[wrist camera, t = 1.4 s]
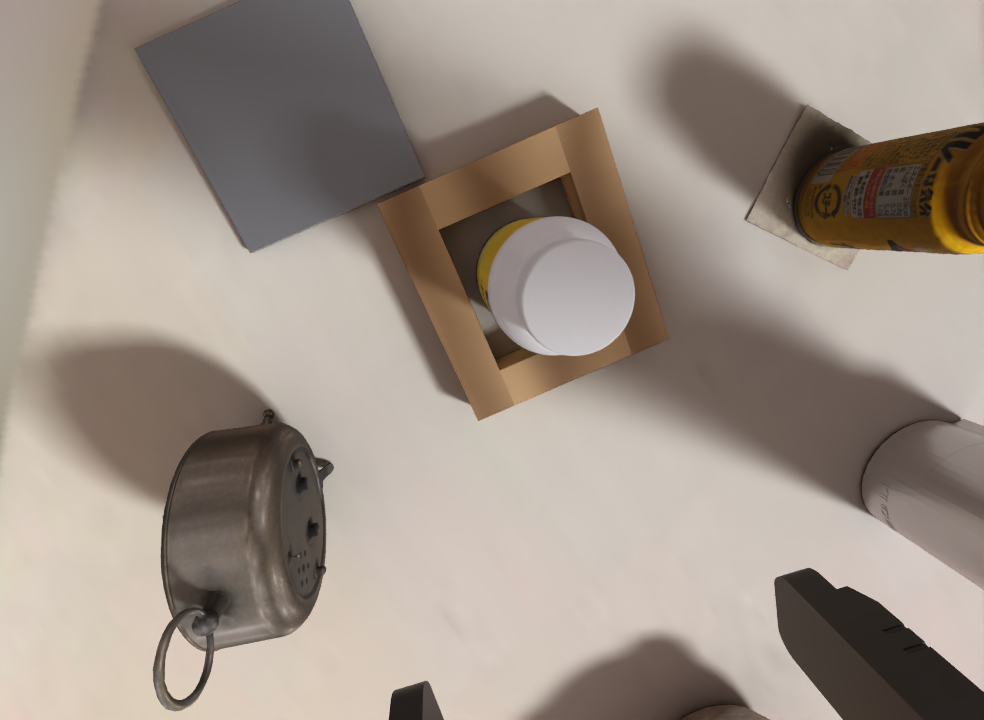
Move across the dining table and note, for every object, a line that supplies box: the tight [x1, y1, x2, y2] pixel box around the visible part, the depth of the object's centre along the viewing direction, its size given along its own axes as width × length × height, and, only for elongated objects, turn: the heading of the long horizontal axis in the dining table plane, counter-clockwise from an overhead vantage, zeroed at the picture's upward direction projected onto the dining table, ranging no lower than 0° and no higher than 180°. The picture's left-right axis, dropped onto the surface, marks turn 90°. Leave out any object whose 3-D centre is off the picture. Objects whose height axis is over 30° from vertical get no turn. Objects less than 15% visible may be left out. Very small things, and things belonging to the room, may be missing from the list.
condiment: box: [747, 105, 984, 270], centre depth 24 cm, size 7×8×12 cm
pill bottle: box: [476, 216, 635, 356], centre depth 24 cm, size 6×6×12 cm
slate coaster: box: [135, 0, 425, 253], centre depth 25 cm, size 11×11×1 cm
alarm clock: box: [153, 410, 334, 711], centre depth 24 cm, size 11×5×16 cm, turn 5°
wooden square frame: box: [377, 108, 669, 421], centre depth 28 cm, size 13×14×2 cm
